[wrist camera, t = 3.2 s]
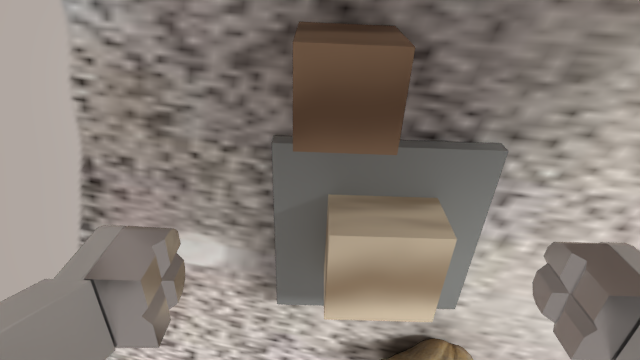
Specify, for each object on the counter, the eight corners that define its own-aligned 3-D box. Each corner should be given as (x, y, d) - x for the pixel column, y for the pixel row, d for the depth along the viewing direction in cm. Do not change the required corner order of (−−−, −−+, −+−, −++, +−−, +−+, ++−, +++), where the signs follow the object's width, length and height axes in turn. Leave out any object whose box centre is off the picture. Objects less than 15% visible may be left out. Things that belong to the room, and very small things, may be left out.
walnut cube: (299, 21, 19) (292, 42, 15) (394, 25, 19) (415, 47, 15) (298, 112, 22) (292, 151, 18) (382, 115, 22) (397, 155, 18)
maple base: (328, 194, 24) (329, 235, 20) (437, 197, 24) (457, 239, 20) (323, 273, 27) (324, 319, 24) (418, 276, 28) (432, 322, 24)
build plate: (273, 135, 23) (271, 142, 22) (501, 143, 23) (508, 151, 22) (278, 294, 30) (277, 304, 29) (451, 298, 30) (454, 309, 29)
